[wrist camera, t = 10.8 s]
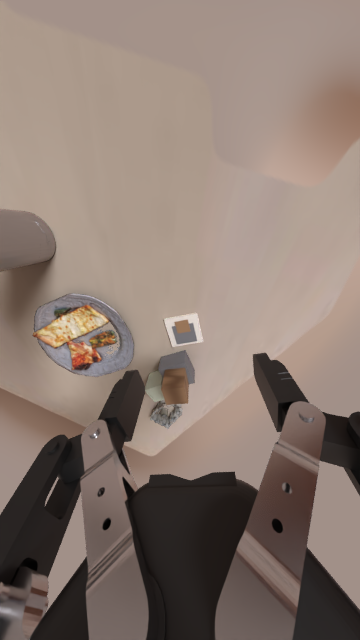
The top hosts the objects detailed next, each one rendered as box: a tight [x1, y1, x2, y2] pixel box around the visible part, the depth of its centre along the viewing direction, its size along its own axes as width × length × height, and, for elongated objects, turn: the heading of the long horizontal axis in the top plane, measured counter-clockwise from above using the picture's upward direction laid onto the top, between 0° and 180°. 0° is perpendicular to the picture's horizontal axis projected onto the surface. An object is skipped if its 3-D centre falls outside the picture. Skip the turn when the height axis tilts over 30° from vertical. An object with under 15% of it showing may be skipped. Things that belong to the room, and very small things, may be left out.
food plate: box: [33, 293, 134, 377], centre depth 45 cm, size 25×23×4 cm
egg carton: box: [150, 399, 182, 429], centre depth 56 cm, size 11×8×4 cm
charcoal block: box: [158, 350, 195, 384], centre depth 46 cm, size 7×7×5 cm
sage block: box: [145, 370, 164, 402], centre depth 48 cm, size 5×5×6 cm
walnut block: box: [161, 368, 189, 405], centre depth 41 cm, size 5×5×6 cm
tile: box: [164, 313, 203, 347], centre depth 43 cm, size 8×8×1 cm
